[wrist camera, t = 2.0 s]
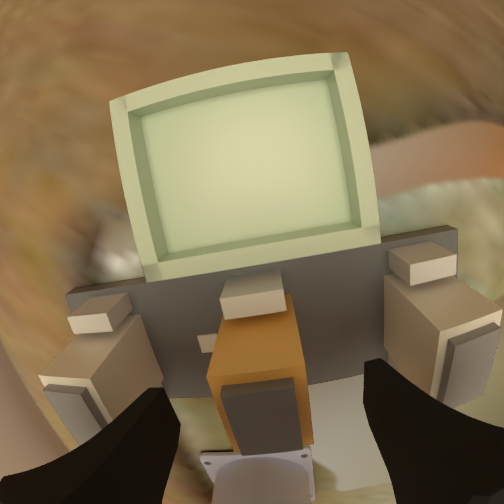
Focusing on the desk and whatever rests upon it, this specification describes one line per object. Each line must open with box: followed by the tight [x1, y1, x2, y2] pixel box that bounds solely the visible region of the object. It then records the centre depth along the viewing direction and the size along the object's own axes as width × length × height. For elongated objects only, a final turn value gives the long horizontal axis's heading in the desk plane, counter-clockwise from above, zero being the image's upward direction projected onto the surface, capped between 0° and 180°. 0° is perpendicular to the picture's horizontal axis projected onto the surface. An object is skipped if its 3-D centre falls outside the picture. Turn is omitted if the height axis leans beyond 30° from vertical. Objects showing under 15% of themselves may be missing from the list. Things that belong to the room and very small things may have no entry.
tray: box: [109, 52, 381, 283], centre depth 12 cm, size 8×10×2 cm
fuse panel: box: [38, 225, 502, 445], centre depth 12 cm, size 7×21×7 cm, turn 101°
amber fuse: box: [206, 293, 314, 456], centre depth 11 cm, size 4×3×6 cm
